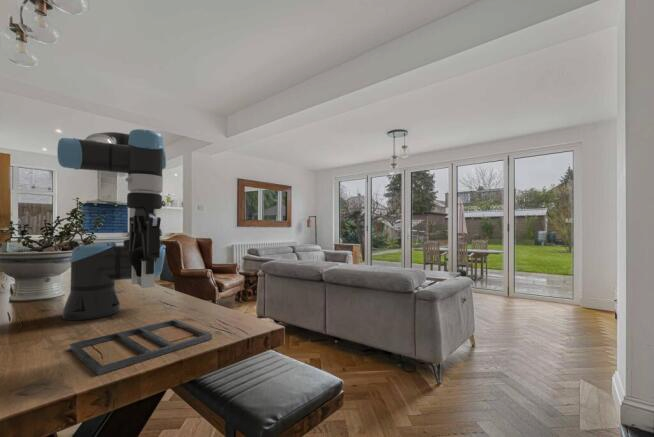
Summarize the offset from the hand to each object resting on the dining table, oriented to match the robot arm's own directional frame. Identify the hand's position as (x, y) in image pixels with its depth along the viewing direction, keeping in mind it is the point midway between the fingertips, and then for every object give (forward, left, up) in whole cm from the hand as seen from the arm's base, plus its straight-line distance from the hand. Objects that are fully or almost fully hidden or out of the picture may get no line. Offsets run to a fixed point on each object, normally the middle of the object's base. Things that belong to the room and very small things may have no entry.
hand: (142, 285), depth 76 cm
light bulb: (0, 0, -1) cm, 1 cm away
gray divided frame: (0, +1, -15) cm, 15 cm away
